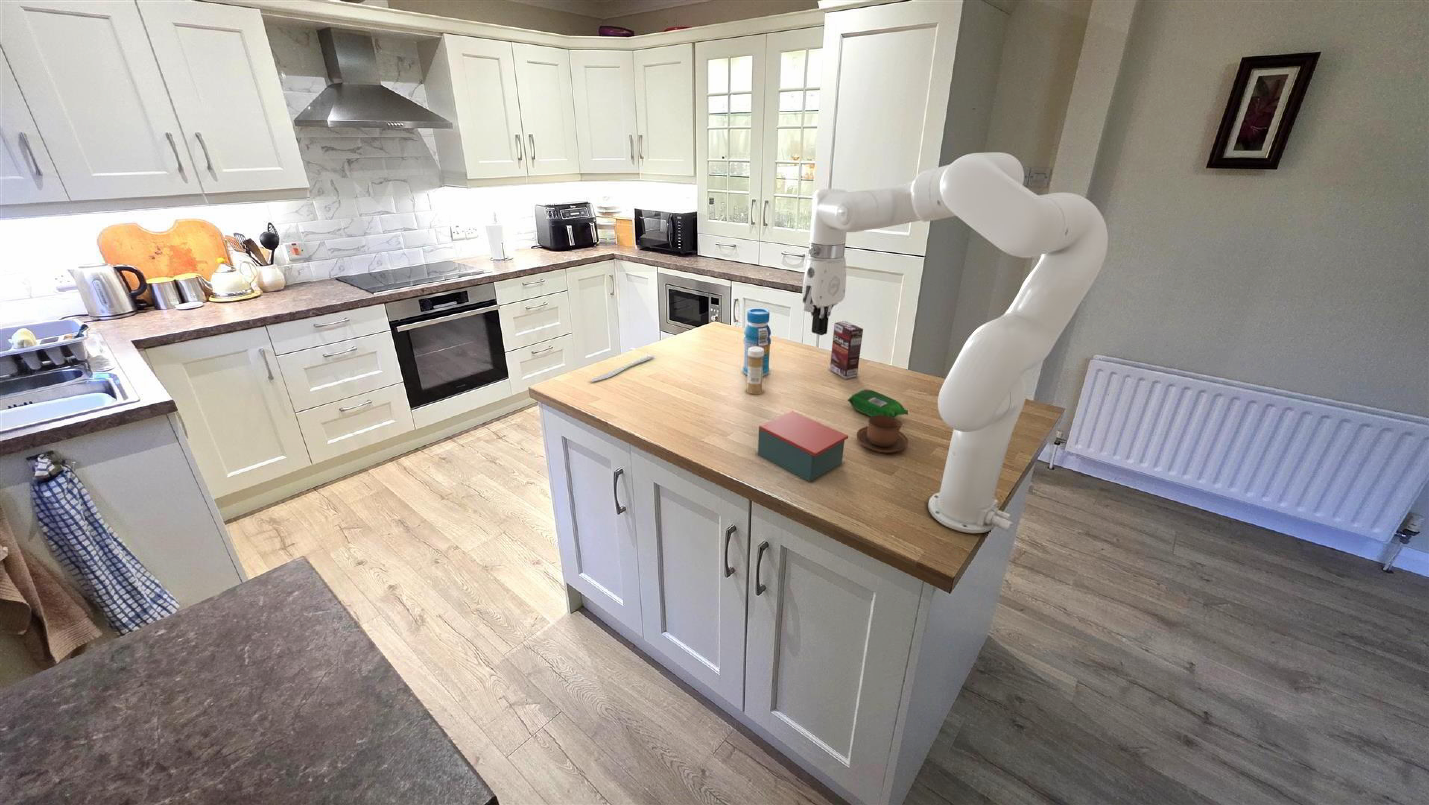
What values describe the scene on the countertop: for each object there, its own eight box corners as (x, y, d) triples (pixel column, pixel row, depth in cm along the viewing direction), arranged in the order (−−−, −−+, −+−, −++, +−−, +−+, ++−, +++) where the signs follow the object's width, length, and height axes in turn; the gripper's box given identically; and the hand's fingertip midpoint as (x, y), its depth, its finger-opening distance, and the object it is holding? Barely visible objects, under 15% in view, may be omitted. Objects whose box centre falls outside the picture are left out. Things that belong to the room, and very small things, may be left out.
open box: (841, 463, 126) (845, 437, 123) (809, 482, 119) (812, 455, 116) (790, 438, 136) (791, 413, 133) (757, 454, 129) (758, 428, 126)
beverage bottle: (739, 375, 172) (741, 313, 163) (746, 366, 179) (748, 306, 170) (766, 378, 170) (769, 316, 161) (771, 369, 177) (775, 308, 168)
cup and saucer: (868, 427, 141) (871, 406, 138) (914, 442, 134) (918, 420, 132) (847, 445, 133) (850, 423, 130) (894, 462, 126) (898, 439, 123)
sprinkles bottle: (764, 390, 162) (766, 347, 156) (759, 396, 158) (761, 352, 152) (749, 387, 164) (751, 344, 158) (744, 393, 160) (745, 349, 154)
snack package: (890, 429, 140) (893, 411, 138) (844, 407, 152) (846, 389, 150) (908, 422, 144) (911, 404, 142) (861, 400, 156) (864, 384, 153)
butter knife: (656, 356, 184) (650, 354, 186) (594, 382, 165) (588, 379, 167) (656, 358, 185) (650, 355, 186) (594, 384, 166) (588, 381, 167)
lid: (848, 438, 122) (848, 435, 122) (815, 456, 115) (815, 453, 115) (791, 413, 133) (792, 410, 133) (758, 428, 126) (758, 425, 126)
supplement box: (828, 369, 176) (833, 322, 169) (841, 367, 178) (846, 320, 171) (845, 379, 169) (851, 330, 162) (857, 377, 171) (864, 328, 164)
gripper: (818, 258, 110) (811, 344, 118) (861, 249, 119) (852, 330, 127) (790, 253, 115) (784, 336, 123) (833, 244, 124) (826, 322, 132)
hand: (819, 333), depth 125 cm, fingers closed
